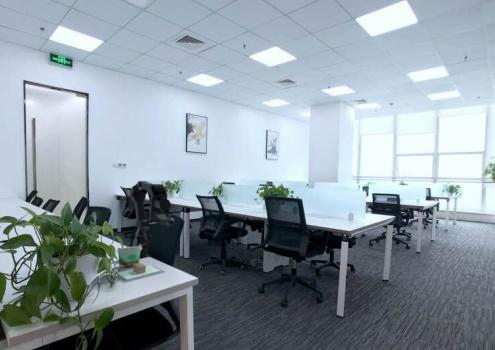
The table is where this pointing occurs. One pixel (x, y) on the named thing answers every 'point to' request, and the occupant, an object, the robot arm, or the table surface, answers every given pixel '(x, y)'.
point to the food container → (129, 256)
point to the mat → (138, 278)
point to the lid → (138, 272)
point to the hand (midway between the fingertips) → (155, 239)
